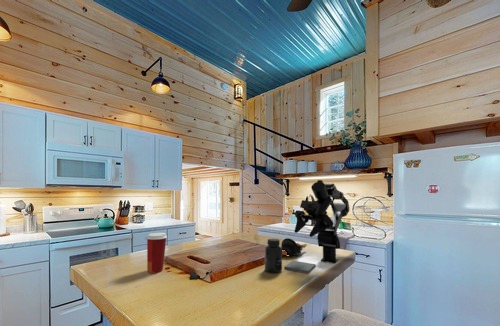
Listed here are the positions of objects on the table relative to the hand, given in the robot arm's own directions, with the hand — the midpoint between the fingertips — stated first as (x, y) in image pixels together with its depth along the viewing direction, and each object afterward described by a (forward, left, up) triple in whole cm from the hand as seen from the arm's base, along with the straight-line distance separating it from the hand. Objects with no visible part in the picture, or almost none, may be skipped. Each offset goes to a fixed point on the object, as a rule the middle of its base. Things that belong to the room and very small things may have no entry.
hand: (302, 234), depth 103 cm
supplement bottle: (+9, -9, -14) cm, 19 cm away
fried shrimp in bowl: (-19, -10, -14) cm, 25 cm away
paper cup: (+34, -48, -14) cm, 61 cm away
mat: (0, -1, -14) cm, 14 cm away
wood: (+23, -33, -14) cm, 43 cm away
